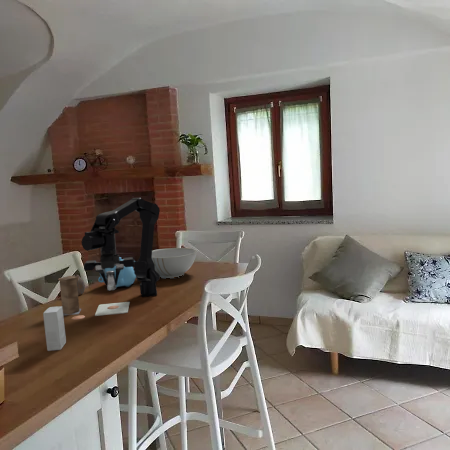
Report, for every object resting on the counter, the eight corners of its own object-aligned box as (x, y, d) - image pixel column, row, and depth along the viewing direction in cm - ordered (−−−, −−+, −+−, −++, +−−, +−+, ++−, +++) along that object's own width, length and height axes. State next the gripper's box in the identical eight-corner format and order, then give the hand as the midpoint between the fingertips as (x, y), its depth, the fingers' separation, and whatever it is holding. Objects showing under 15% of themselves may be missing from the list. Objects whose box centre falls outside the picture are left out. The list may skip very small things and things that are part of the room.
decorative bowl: (146, 284, 211) (145, 259, 209) (143, 273, 237) (141, 250, 235) (202, 278, 217) (200, 254, 215) (193, 268, 243) (191, 246, 241)
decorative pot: (95, 288, 209) (92, 259, 208) (119, 280, 223) (117, 253, 221) (120, 291, 201) (118, 261, 199) (144, 282, 215) (142, 255, 213)
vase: (80, 296, 195) (78, 277, 194) (66, 296, 197) (64, 277, 196) (88, 292, 202) (86, 273, 201) (74, 292, 204) (72, 273, 203)
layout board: (129, 302, 182) (129, 301, 182) (127, 315, 166) (127, 313, 165) (64, 308, 178) (64, 307, 178) (55, 322, 162) (55, 320, 162)
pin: (116, 287, 176) (114, 270, 175) (115, 289, 173) (114, 272, 172) (108, 288, 175) (106, 271, 174) (107, 290, 172) (105, 272, 171)
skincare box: (52, 343, 140) (48, 306, 139) (66, 342, 140) (62, 305, 139) (46, 351, 134) (42, 312, 133) (61, 350, 134) (57, 311, 133)
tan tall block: (73, 309, 176) (69, 275, 174) (80, 311, 173) (77, 277, 171) (61, 312, 172) (58, 278, 170) (69, 314, 169) (65, 279, 167)
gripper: (79, 251, 163) (83, 293, 164) (131, 247, 165) (134, 288, 167) (84, 246, 174) (88, 285, 175) (133, 243, 176) (136, 281, 178)
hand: (111, 285), depth 174 cm, fingers closed on pin, 3 cm apart
